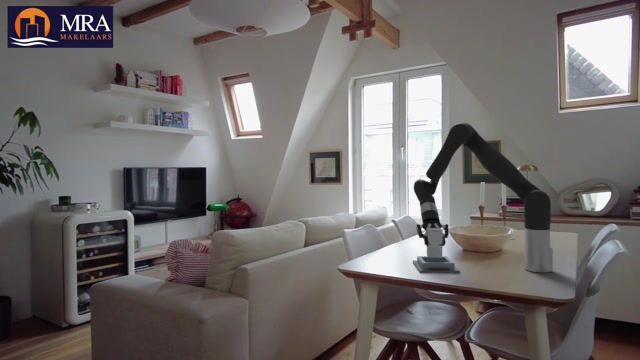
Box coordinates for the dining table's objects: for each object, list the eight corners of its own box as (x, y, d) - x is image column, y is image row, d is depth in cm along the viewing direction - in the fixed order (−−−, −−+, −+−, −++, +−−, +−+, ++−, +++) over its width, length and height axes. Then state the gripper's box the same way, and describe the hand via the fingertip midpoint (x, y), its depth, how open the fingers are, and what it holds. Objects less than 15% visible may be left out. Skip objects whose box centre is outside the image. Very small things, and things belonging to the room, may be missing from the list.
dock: (448, 262, 170) (448, 255, 170) (460, 273, 152) (459, 264, 152) (412, 262, 172) (412, 255, 172) (420, 272, 154) (419, 264, 154)
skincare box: (428, 257, 160) (428, 229, 160) (426, 255, 165) (426, 227, 164) (443, 257, 160) (443, 229, 159) (440, 255, 164) (440, 227, 164)
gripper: (414, 209, 170) (419, 240, 158) (447, 209, 169) (454, 240, 157) (412, 219, 175) (417, 250, 164) (444, 219, 174) (451, 250, 162)
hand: (435, 245), depth 160 cm, fingers closed on skincare box, 6 cm apart
